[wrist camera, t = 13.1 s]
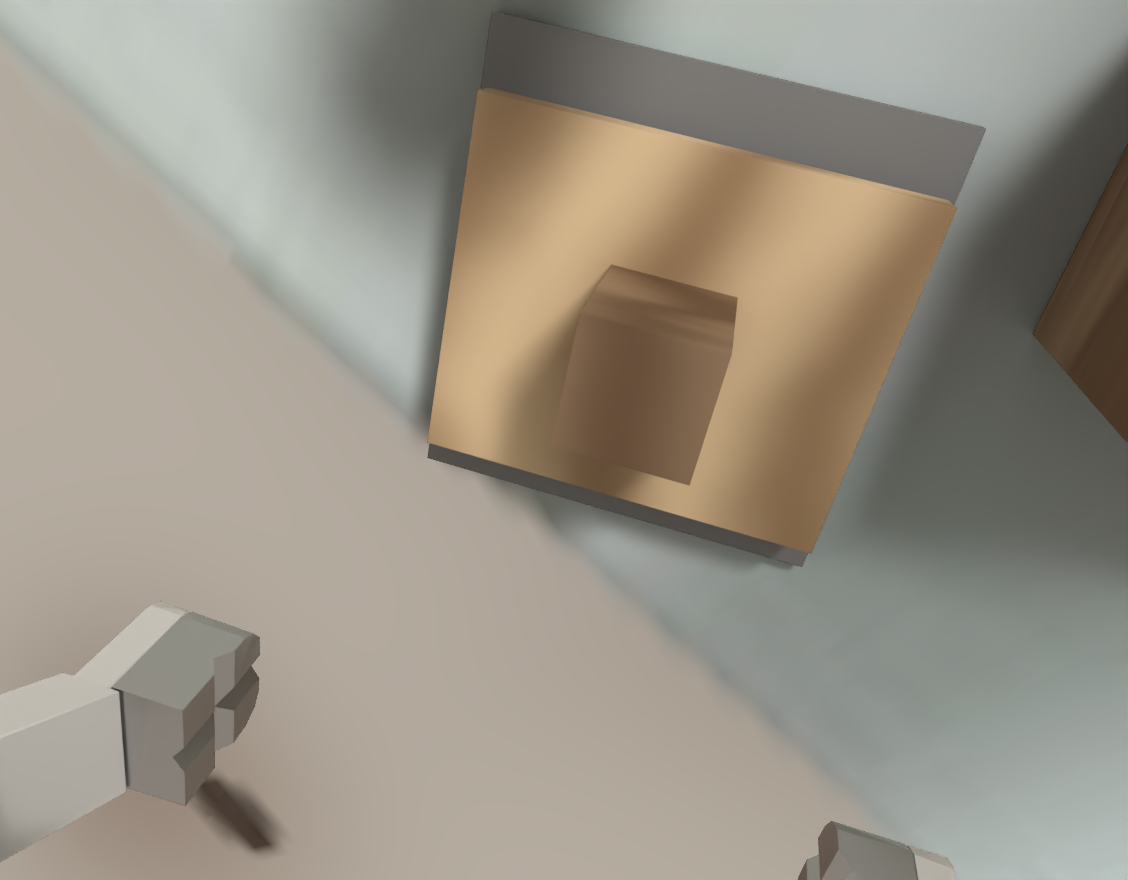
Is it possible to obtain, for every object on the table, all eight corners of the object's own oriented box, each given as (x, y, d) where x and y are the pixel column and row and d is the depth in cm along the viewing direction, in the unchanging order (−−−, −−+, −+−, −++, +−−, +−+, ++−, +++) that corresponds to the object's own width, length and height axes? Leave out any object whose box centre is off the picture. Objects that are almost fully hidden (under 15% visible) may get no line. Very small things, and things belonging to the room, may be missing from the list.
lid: (942, 194, 25) (1001, 250, 19) (808, 520, 31) (819, 648, 25) (498, 85, 27) (415, 103, 20) (447, 417, 32) (370, 512, 26)
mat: (981, 126, 25) (986, 128, 24) (801, 558, 32) (802, 566, 32) (497, 11, 26) (491, 12, 26) (432, 451, 34) (427, 457, 33)
